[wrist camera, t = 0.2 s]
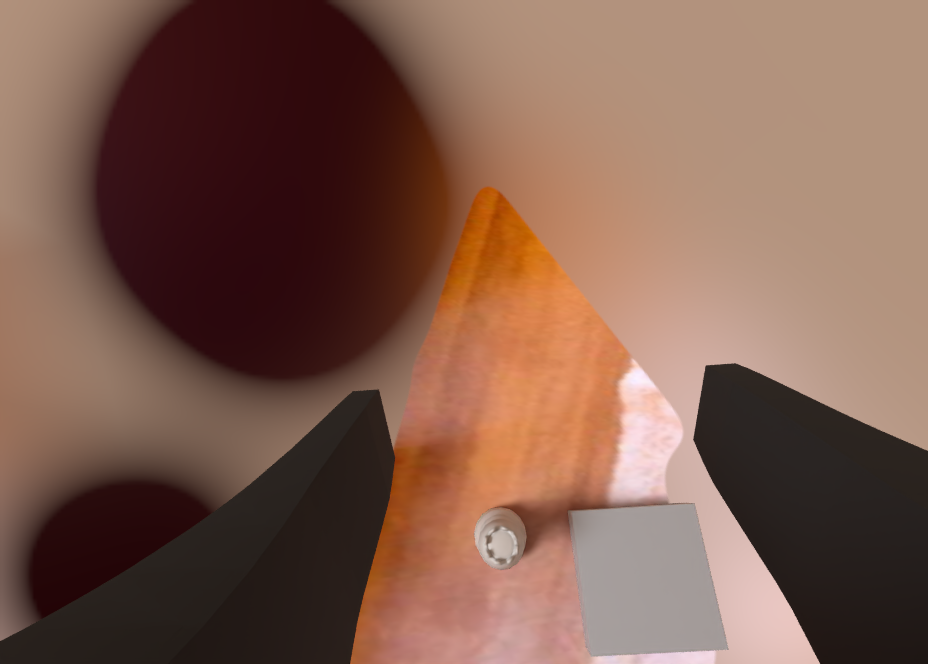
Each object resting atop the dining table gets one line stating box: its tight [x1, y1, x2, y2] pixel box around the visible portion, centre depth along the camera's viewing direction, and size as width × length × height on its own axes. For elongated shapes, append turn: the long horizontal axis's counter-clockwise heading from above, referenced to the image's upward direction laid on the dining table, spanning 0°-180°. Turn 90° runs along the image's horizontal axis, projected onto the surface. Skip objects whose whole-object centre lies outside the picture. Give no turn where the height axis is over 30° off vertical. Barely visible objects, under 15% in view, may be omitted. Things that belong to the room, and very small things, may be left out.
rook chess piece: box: [474, 507, 527, 570], centre depth 34 cm, size 4×4×8 cm
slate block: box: [568, 503, 728, 657], centre depth 35 cm, size 10×10×2 cm
